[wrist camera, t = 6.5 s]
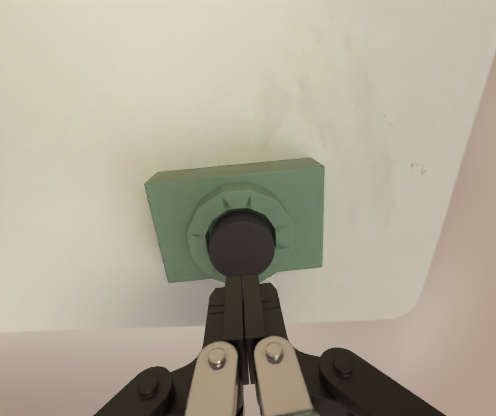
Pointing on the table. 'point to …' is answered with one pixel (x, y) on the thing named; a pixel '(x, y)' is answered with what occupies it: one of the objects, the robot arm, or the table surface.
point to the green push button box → (238, 199)
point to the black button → (241, 244)
